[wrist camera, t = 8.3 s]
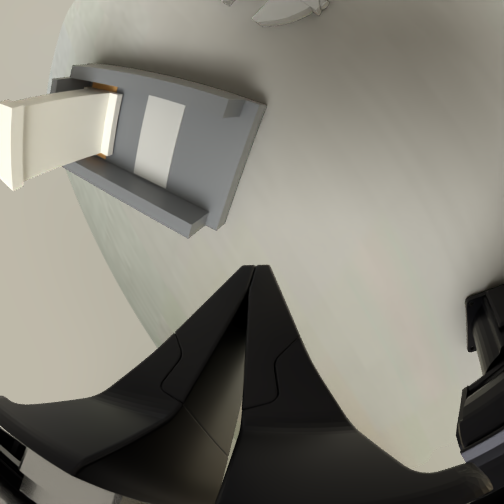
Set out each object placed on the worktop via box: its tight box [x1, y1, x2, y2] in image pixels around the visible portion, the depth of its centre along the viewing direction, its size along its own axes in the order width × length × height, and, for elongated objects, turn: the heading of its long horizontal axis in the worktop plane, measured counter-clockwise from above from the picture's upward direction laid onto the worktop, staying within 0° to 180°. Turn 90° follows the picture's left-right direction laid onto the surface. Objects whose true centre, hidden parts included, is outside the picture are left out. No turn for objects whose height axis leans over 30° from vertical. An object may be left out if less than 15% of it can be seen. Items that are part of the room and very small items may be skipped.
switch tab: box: [0, 87, 123, 191], centre depth 16 cm, size 5×6×10 cm
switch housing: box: [50, 63, 267, 238], centre depth 19 cm, size 18×10×6 cm, turn 70°
